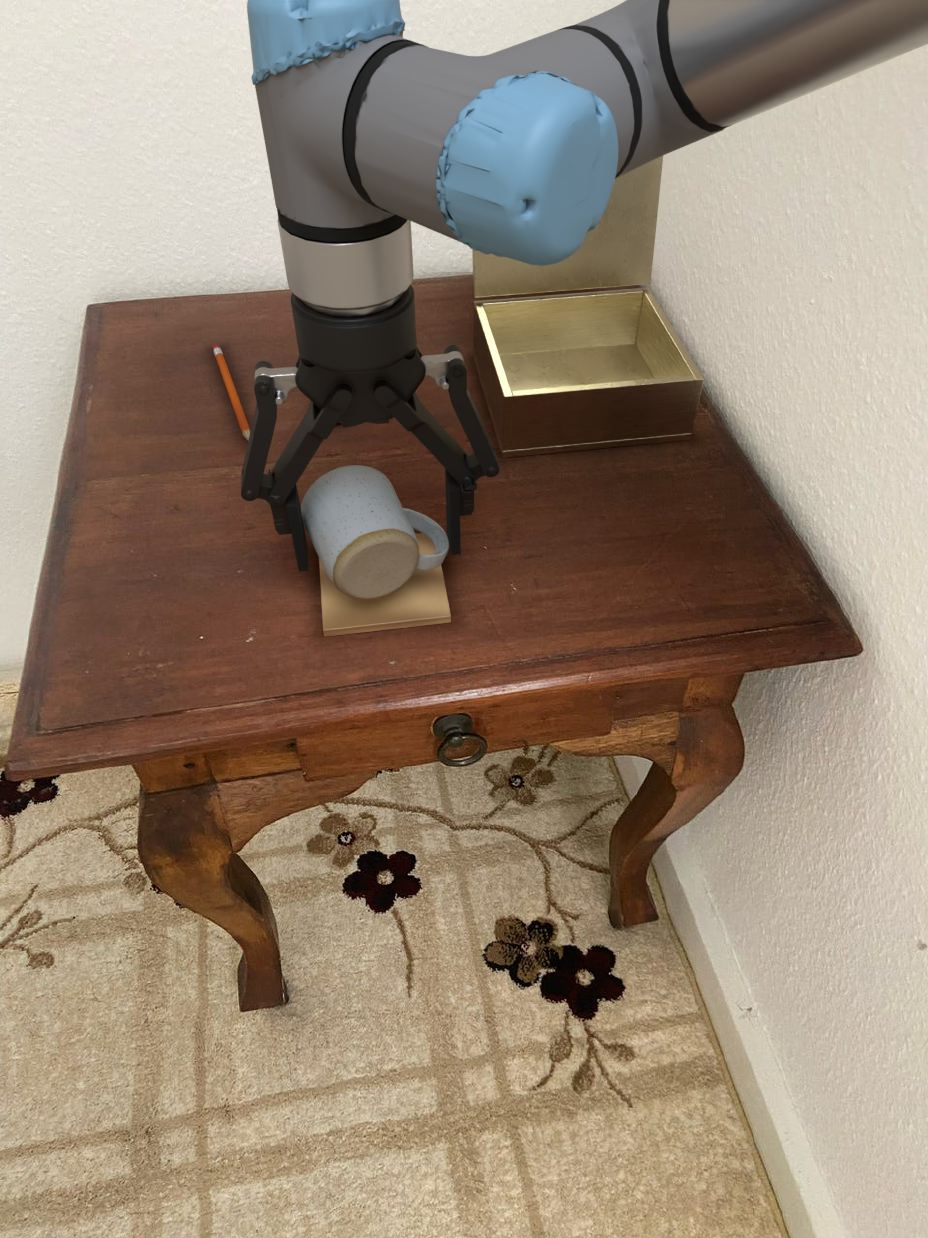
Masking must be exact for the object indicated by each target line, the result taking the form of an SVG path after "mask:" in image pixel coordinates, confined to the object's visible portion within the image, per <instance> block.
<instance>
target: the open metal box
mask: <svg viewBox="0 0 928 1238" xmlns="http://www.w3.org/2000/svg"><path fill="white" fill-rule="evenodd" d="M473 362H474V365H475V369H476V373H477V376H478V379H479V383H480V387H481V390H482V393H483V397H484V400H485V404H486V406H487V410H488V413H489V417H490V420H491V425H492V428H493V431H494V435H495V438H496V441H497V444H498V449H499V452H500V455H501V458H502V459H505V458H515V457H527V456H536V455H547V454H555V453H556V454H557V453H569V452H578V451H579V452H580V451H590V450H599V449H611V448H621V447H631V446H641V445H652V444H661V443H663V444H664V443H673V442H683V441H691V438H692V433H693V429H694V425H695V420H696V416H697V412H698V408H699V403H700V397H701V394H702V389H703V386H704V385H703V384H704V381H705V378H704V377H703V375H702V374H701V372H700V370H699V368H698V367H697V365H696V363H695V362H694V359H692V356H690V354H689V352H688V350H687V349H686V347H685V345H684V343H683V342H682V340H681V339H680V337H679V335H678V334H677V332H676V330H675V329H674V327H673V325H672V324H671V322H670V321H669V319H668V317H667V316H666V313H665V312H664V310H663V309H662V308H661V305H660V304H659V302H658V301H657V299H656V297H655V296H654V294H653V292H652V291H651V289H650V287H639V288H628V289H625V288H624V289H613V290H601V291H587V292H575V293H574V292H573V293H561V294H551V295H550V294H549V295H535V296H524V297H510V298H496V299H485V300H474V301H473Z"/></svg>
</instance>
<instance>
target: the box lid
mask: <svg viewBox="0 0 928 1238" xmlns="http://www.w3.org/2000/svg"><path fill="white" fill-rule="evenodd" d="M663 163H664V155H663V156H661V157H659V158H656V159H654V160H652V161H650V162H648V163H646V164H644V165H642V166H640V167H638V168H636V169H634V170H632V171H630V172H628V173H626V174H624V175H622V176H620V177H617V178H616V179H615V181H614V185H613V190H612V193H611V195H610V198H609V201H608V204H607V206H606V209H605V211H604V213H603V215H602V218H601V219H600V221H599V223H598V224H597V226H596V228H595V229H594V230H590V231H587V233H586V235H585V238H584V241H583V244H582V246H581V247H580V248H579V250H577V251H576V252H575V253H574V254H573V255H571V256H570V257H568V258H567V259H565V260H563V261H561V262H559V263H556V264H552V265H547V266H537V265H530V264H527V263H524V262H521V261H518V260H514V259H511V258H507V257H498V256H496V255H494V254H492V253H491V254H488V255H486V254H484V253H482V252H480V251H478V250H477V251H475V250H473V249H471V253H472V294H473V297H474V298H488V297H501V296H512V295H513V296H514V295H527V294H538V293H540V294H541V293H551V292H565V291H566V292H567V291H578V290H591V289H604V288H606V289H607V288H616V287H618V288H619V287H629V286H630V287H631V286H641V285H642V286H644V285H651V283H652V273H653V264H654V255H655V244H656V233H657V223H658V214H659V204H660V195H661V185H662V183H661V182H662V175H663V174H662V173H663Z"/></svg>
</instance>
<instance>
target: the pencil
mask: <svg viewBox="0 0 928 1238" xmlns="http://www.w3.org/2000/svg"><path fill="white" fill-rule="evenodd" d="M211 349H212V351H213V355H214V357H215V360H216V363H217V366H218V369H219V371H220V375H221V378H222V380H223V383H224V385H225V388H226V392H227V394H228V397H229V400H230V404H231V406H232V409H233V411H234V414H235V417H236V419H237V422H238V425H239V429H240V432H241V434H242V436H243V438H245V440H246V441H247V442H248V441H249V436H250V431H251V427H250V425H249V422H248V419H247V417H246V414H245V411H244V408H243V406H242V402H241V400H240V397H239V395H238V392H237V389H236V386H235V383H234V381H233V378H232V375H231V373H230V370H229V367H228V364H227V362H226V359H225V356H224V353H223V350H222V348H221V346H220V344H214V345H212V348H211Z"/></svg>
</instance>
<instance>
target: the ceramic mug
mask: <svg viewBox="0 0 928 1238" xmlns="http://www.w3.org/2000/svg"><path fill="white" fill-rule="evenodd" d="M300 507H301V513H302V518H303V523H304V529H305V532H306V534H307V535H308V537H309V539H310V541H311V544H312V546H313V549H314V550H315V552H316V554H317V556H318V559H319V558H320V560H321V562H322V565H323V567H324V569H325V571H326V573H327V575H328V577H329V579H330V580H331V581H332V583H333V584H334V585H335V586H336V587H337V589H338V590H339V591H341V592H342V593H343V594H345V595H347V596H349V597H352V598H355V599H365V600H366V599H375V598H379V597H383V596H386V595H388V594H390V593H393V592H394V591H396V590H397V589H399V588H400V587H402V586H403V585H404V584H405V583H406V582H407V581H408V580H409V579H410V578H411V577H412V575H413V574H414V572H415V570H416V569H417V570H429V569H433V568H434V569H435V568H437V567H438V566H440V565H441V566H442V564H443V563H444V561H445V559H446V556H447V555H448V553H449V551H450V547H449V541H448V537H447V532H445V530H444V528H442V526H441V525H440V524H439V523H437V522H436V521H435V520H434V519H432V518H431V517H429V516H427V515H425V514H423V513H421V512H418V511H415V510H414V509H410V508H405V507H403V505H402V503H401V501H400V499H399V497H398V494H397V492H396V490H395V488H394V486H393V484H392V482H391V481H390V480H389V478H388V477H387V476H386V474H384V473H383V472H382V471H380V470H378V469H376V468H374V467H371V466H366V465H362V464H351V465H350V464H349V465H345V466H340V467H337V468H334V469H332V470H329V471H327V472H326V473H324V474H322V475H321V476H320V477H319V478H317V479H316V480H315V481H313V483H312V484H311V485H310V487H308V489H307V491H305V494H304V496H303V498H302V500H301V504H300ZM415 530H416V531H418V532H419V533H423V534H425V535H427V536H428V537H429V538H430V539H431V540H432V542H433V544H434V546H435V549H436V554H432V555H427V554H420V553H419V545H418V541H417V538H416V535H415V534H416V533H415Z"/></svg>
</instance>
